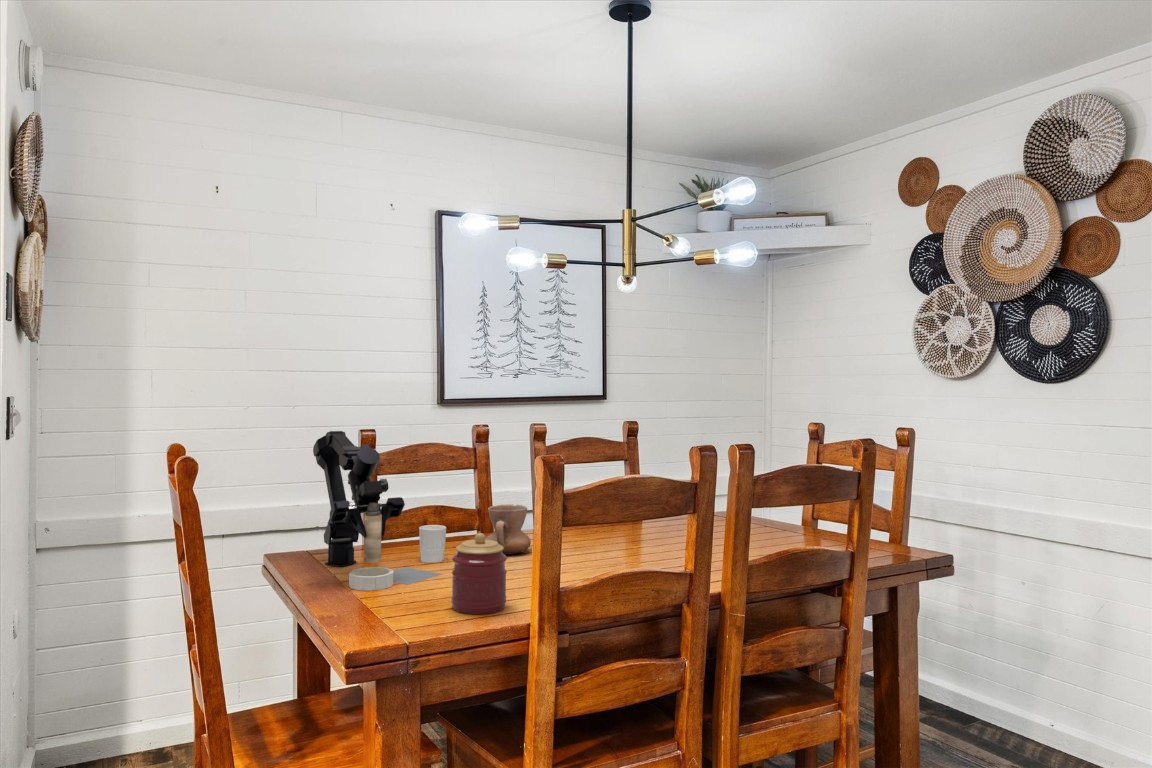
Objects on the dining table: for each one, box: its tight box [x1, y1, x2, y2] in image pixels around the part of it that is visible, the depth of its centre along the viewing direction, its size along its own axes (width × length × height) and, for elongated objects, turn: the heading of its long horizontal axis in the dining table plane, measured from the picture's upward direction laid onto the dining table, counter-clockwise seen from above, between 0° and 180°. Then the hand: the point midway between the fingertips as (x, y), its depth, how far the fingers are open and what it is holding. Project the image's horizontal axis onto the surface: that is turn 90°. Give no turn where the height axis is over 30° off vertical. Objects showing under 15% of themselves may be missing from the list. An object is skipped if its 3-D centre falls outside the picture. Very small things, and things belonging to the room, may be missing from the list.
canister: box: [450, 532, 508, 615], centre depth 190 cm, size 13×13×18 cm
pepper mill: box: [362, 502, 382, 564], centre depth 207 cm, size 4×4×15 cm
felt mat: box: [393, 566, 443, 586], centre depth 218 cm, size 14×14×1 cm
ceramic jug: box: [485, 503, 532, 555], centre depth 250 cm, size 18×14×14 cm
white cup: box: [418, 524, 447, 564], centre depth 236 cm, size 8×8×10 cm
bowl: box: [348, 566, 395, 592], centre depth 207 cm, size 11×11×4 cm
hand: (374, 535), depth 206 cm, fingers closed on pepper mill, 4 cm apart
